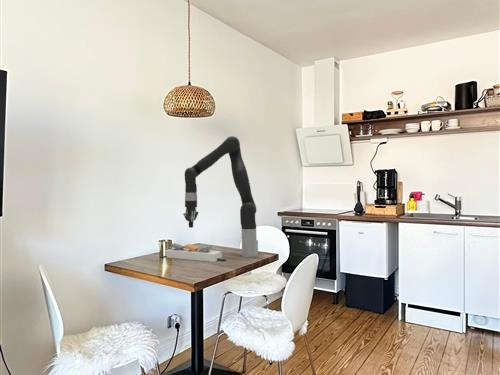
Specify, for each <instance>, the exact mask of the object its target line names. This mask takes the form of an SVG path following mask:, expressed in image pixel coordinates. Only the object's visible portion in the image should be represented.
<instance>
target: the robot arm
mask: <svg viewBox="0 0 500 375" xmlns="http://www.w3.org/2000/svg"><path fill="white" fill-rule="evenodd" d="M241 151H242V150H241V143H240V140H239V139H238V137H236V136H233V135H231V136H228V137H227V138H225V140H224V141H223V142H222V143H221V144H220V145H219V146H218V147H216V148H215V149H213V151H210V153H208V154H207V155H205V156H204V157H202V158H201V159H199V160H198V161H197V162H196V163H195V164H193V165H192V166H191V167H187V168H185V169H186V170H184V182H185V186H184V188H185V191H184V192H185V193H184V207H185V212H184V213H183V217H184V219H185V220H186V221H187V222H188V228H191V229H192V228H194V222H195V220H197V217H198V215H199V211H197V207H198V193H197V192H198V191H197V190H198V187H197V186H198V184H197V179H196V178H197V177H198V176H199V175H201V174H202V173H203V172H205V171H206V170H208V169H209V168H210V167H212V166H213V165H214V164H216V163H217V162H218V161H219V160H220V159H221V158H222V157H224V156H226V155H227V154H228V156H229V160H230V165H231V167H230V168H231V173H232V178H233V183H234V185H235V187H236V190H237V192H238V193H239V197H240V199H241V200H240V201H241V207H240V210H239V212H240V213H239V214H240V215H239V218H240V219H239V220H240V227H241V256H242V257H243V258H256V257H258V256H259V241H258V239H257V223H256V214H257V206H256V203H255V200H254V197H253V194H252V191H251V190H252V188H251V184H250V178H249V175H248V171H247V167H246V165H245V163H244V159H243V156H242V152H241Z"/></svg>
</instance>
